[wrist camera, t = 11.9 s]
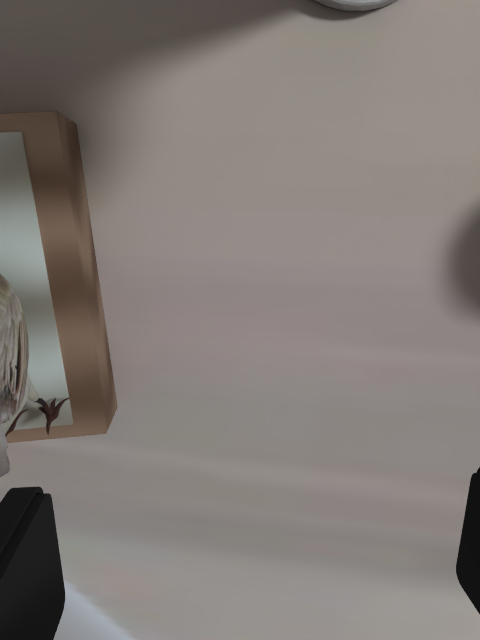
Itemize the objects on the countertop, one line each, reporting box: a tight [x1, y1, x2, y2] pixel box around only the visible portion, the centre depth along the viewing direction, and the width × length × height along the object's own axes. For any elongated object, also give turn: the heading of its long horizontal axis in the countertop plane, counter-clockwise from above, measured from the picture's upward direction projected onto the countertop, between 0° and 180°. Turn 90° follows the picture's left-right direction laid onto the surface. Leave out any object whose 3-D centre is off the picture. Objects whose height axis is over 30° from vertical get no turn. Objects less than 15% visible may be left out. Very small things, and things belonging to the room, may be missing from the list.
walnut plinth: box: [0, 111, 117, 443], centre depth 28 cm, size 20×11×4 cm, turn 3°
